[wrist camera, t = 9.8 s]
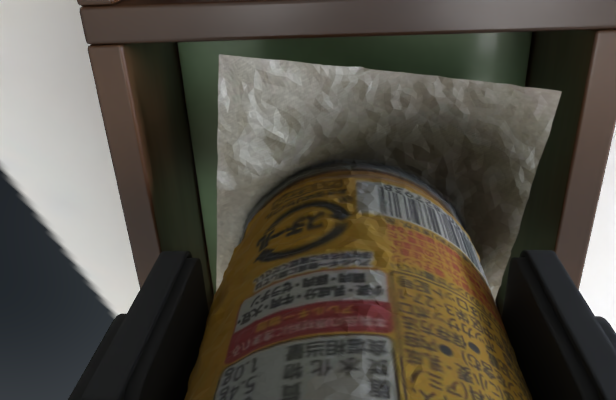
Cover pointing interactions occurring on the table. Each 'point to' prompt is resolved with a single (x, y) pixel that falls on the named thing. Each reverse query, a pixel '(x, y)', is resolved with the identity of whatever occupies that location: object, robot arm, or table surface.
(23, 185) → the table surface
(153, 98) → the holder
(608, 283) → the table surface
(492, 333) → the condiment
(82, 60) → the table surface
